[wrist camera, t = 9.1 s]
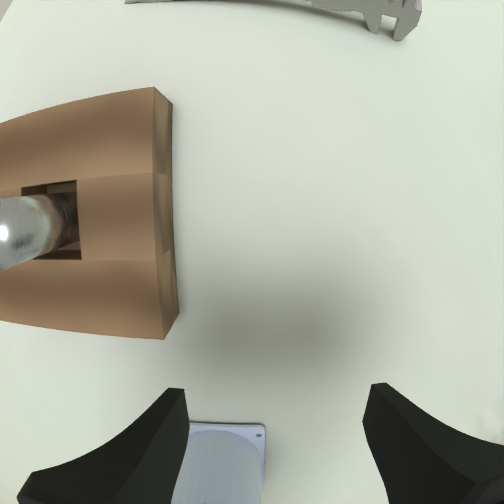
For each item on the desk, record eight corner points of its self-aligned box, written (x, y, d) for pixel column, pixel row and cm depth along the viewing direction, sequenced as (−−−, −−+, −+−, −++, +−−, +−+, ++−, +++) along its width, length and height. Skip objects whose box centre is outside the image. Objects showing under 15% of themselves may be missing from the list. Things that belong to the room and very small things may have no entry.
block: (179, 313, 21) (164, 339, 17) (26, 302, 21) (-2, 319, 17) (172, 104, 18) (154, 86, 14) (13, 134, 18) (-19, 130, 14)
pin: (97, 238, 19) (22, 268, 11) (59, 244, 19) (-18, 273, 11) (90, 187, 18) (10, 193, 11) (51, 196, 18) (-30, 207, 11)
